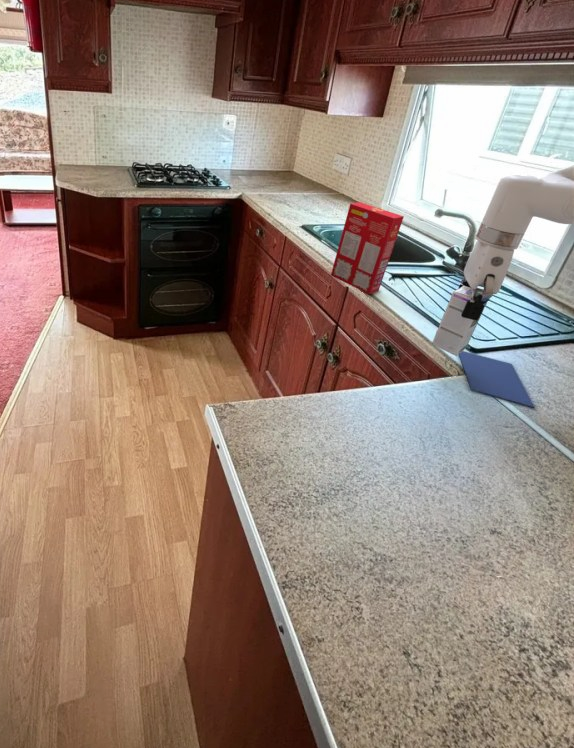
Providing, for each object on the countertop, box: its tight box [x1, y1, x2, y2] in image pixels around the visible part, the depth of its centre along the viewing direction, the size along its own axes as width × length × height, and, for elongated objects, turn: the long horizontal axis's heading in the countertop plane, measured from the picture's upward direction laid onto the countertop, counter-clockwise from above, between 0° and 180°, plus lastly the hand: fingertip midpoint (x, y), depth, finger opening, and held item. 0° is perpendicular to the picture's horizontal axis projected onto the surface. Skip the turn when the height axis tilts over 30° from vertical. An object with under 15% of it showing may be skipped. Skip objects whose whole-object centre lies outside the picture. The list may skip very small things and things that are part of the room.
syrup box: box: [432, 284, 486, 357], centre depth 92 cm, size 6×6×14 cm
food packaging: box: [330, 201, 404, 295], centre depth 127 cm, size 15×5×25 cm, turn 37°
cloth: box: [458, 350, 535, 409], centre depth 94 cm, size 12×16×1 cm
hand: (465, 309), depth 90 cm, fingers closed on syrup box, 7 cm apart
